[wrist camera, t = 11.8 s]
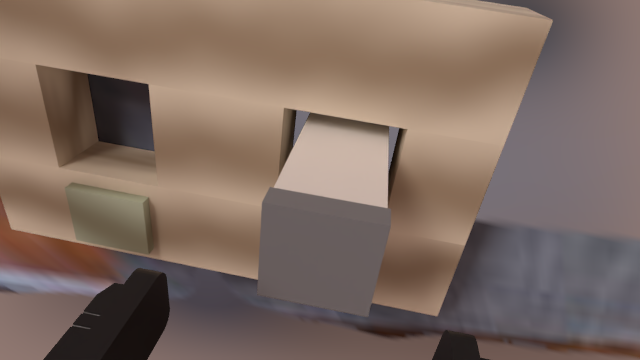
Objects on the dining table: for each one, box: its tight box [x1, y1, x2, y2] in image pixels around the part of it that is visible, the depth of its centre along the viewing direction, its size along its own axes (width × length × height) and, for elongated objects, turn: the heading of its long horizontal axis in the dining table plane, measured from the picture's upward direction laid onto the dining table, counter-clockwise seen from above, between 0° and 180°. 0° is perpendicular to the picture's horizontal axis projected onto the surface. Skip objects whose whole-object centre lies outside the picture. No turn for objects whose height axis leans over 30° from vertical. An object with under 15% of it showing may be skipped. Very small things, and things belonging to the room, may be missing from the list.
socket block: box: [0, 0, 553, 316], centre depth 21 cm, size 16×26×4 cm, turn 83°
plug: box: [257, 112, 391, 317], centre depth 19 cm, size 4×4×10 cm
